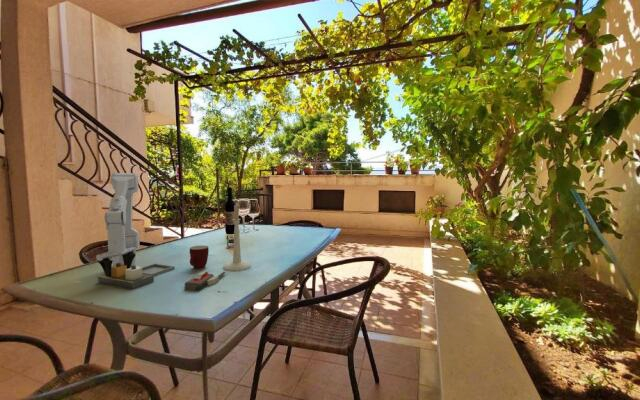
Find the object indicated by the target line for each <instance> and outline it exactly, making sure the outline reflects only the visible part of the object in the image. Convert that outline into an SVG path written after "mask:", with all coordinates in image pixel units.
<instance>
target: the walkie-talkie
mask: <svg viewBox="0 0 640 400" xmlns="http://www.w3.org/2000/svg"><path fill="white" fill-rule="evenodd" d="M225 274H226V271H223V272H221V273H220V274H218V275H217V276H216V275H214V274H212V273H209V272H208V271H200V272H199V273H197V275H196V276H193V278H191V279H189V280H188V281H186V282H184V290H186V291H188V290H189V291H201V290H202V289H204V288H206V287H207V286H211V285H214V284H216V283H217V282H219V279H220V278H221V277H223V275H225Z"/></svg>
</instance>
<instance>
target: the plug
mask: <svg viewBox="0 0 640 400" xmlns="http://www.w3.org/2000/svg"><path fill="white" fill-rule="evenodd" d="M126 269H127V265H121V263H116V266H113V265H112V266H111V277H119V276H123V275H125V270H126Z"/></svg>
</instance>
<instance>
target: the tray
mask: <svg viewBox="0 0 640 400" xmlns="http://www.w3.org/2000/svg"><path fill="white" fill-rule="evenodd" d="M141 268H142V274H147V275H153V276H154V277H156V276H159V275H162V274H164V273H167V272H170V271H173V270H175V269H176V268H175V265H168V264H161V263H152V264H149V265H146V266H143V267H142V266H141Z"/></svg>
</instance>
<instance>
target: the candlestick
mask: <svg viewBox="0 0 640 400" xmlns="http://www.w3.org/2000/svg"><path fill="white" fill-rule="evenodd" d="M239 207H240V206H239V204H234V205H233V210H234V211H233V214H234V218H232V221H233V224H234V229H233V230H234V231H233V255H232V256H233V259H232V261H228V262H226V263H225V264H224V265H223V266H222V269H223V271H227V272H241V271H240V270H242V271H246V270H249V269H251V267H252V264H251V263H250V262H249V261H247V260H242V256H241V243H240V242H241V240H240V227H239V224H240V221H241V218H240V217H239V215H240V212H239ZM248 268H249V269H248ZM245 269H246V270H245Z"/></svg>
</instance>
